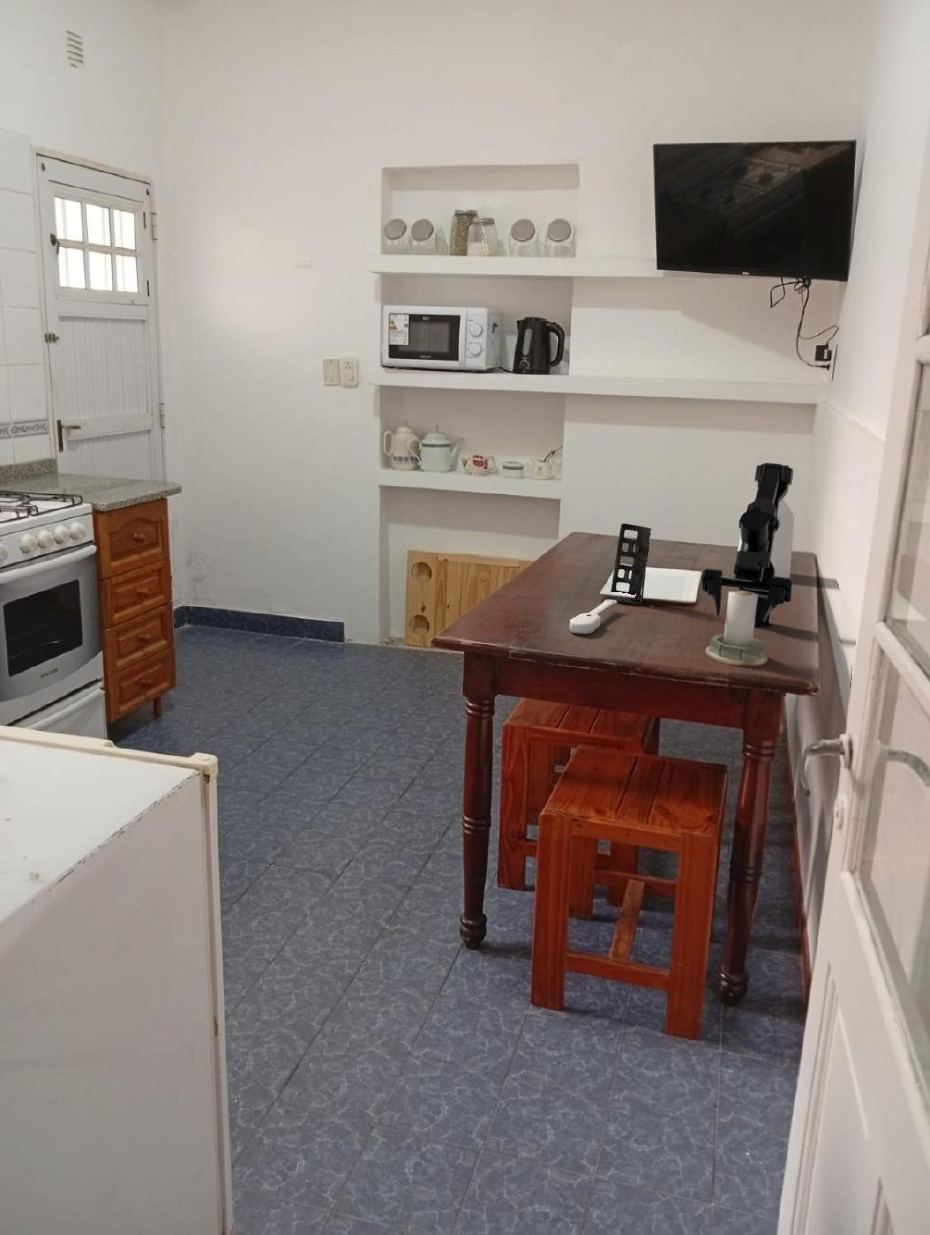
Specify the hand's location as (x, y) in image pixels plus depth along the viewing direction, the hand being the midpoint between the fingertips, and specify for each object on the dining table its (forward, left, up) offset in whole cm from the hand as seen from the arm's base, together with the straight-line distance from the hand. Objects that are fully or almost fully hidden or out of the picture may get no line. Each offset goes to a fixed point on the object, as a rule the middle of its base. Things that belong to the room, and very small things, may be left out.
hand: (739, 617), depth 210 cm
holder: (+1, -52, -9) cm, 53 cm away
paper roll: (-1, -1, -8) cm, 8 cm away
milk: (-56, -80, -9) cm, 98 cm away
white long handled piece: (+19, -32, -9) cm, 38 cm away
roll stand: (-1, -1, -9) cm, 9 cm away
